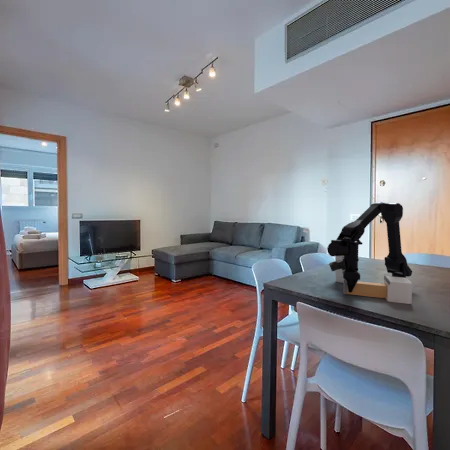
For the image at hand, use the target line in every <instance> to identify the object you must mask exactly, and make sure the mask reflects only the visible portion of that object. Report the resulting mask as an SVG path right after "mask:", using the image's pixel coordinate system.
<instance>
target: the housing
mask: <svg viewBox="0 0 450 450" xmlns="http://www.w3.org/2000/svg"><path fill="white" fill-rule="evenodd" d="M383 284H386V285H387V296H386V298H385V299H386V301H387V302H390V303H399V304H408V305H412V302H413V301H412V300H413V297H412V296H413V282H412V281H410V280H409V279H408V278H407V277H406V278H403V277H392V275H391V276H389V275H384V276H383Z"/></svg>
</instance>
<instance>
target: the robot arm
mask: <svg viewBox="0 0 450 450" xmlns="http://www.w3.org/2000/svg"><path fill="white" fill-rule="evenodd" d="M380 214H381V215H380ZM403 215H404V208H403V205H402V204H401V203H399V202H390V203H389V202H388V203H387V202H382V201H381V202H380V201H379V202H378V201H377V202H376V201H375V202H373V203H371V204H370V206H369V207H368V208H367V209H365V211H364V212H363V213H361V214H360V216H358V217H357V219H356V220H354V221H351V222H349V223H346V225H344V226H343V227H342V228H341V231H340V233H339V234H338V235H337V238H336V239H331V240H330V243H329V244H328V246H327V248H326V251H327V253H328V255H329V256H330V257H335V256H343V259H342V260H338V261H335V260H334V261H330V262H329V263H328V264H329V269H330V271H331V272H336V270H338V269H342V271H343V270H344V272H342V273H343V278H344V279H345V280H346V281H347V285H348V291H349V292H352V291H353V289H354V287H355V285H356V283H357V281H360V280H361V274H360V272H359V261H360V260H359V246H360V245H363V243H364V242H362V241H361V240H360V239H361V238H362V236H364V234H365V229H366V228H367V226H368V225H370V224H371V223H372V221H374V219H376V218H377V217H378V216H381V218H382V219H383V220H384V222H385V224H386V233H387V234H386V235H387V242H388V243H387V244H388V254H387V256H385V257H383V259H384V266H385V268H386V271H387V273H388V274H391V276H392V277H403V278H407V277H412V275H413V270H412V269H411V268H410V266H409V264H408V261H407V258H406V256H405V255H404V254H403V252H402V242H401V239H402V238H401V230H400V229H401V228H400V221H402V218H403Z"/></svg>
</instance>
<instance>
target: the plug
mask: <svg viewBox="0 0 450 450" xmlns="http://www.w3.org/2000/svg"><path fill="white" fill-rule="evenodd" d="M342 285H343V287H342V288H343V289H342V291H343V295H353V296H361V297H362V296H363V297H371V298H380V299H386V296H387V285H386V284H384V283H379V282H372V281H371V282H370V281H360V280H358V281H357V283H356V285H355V287H354V289H353V291H352V292H349V291H348V285H347V281H346V280H345V279H344V283H342Z"/></svg>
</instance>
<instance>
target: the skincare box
mask: <svg viewBox="0 0 450 450" xmlns="http://www.w3.org/2000/svg"><path fill="white" fill-rule="evenodd" d="M334 258H335V260H334V261H338V260H342V259H343V256H334ZM342 272H344V270H343V271H342V269H338V270H335V282H337V283H342V284H343V283H344V278H343V273H342Z"/></svg>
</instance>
